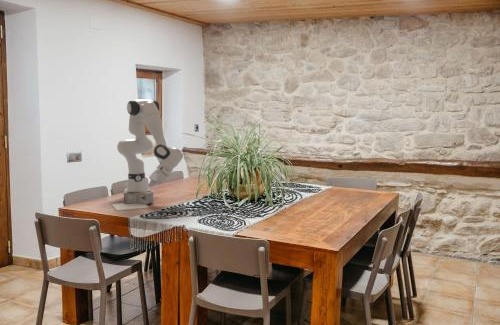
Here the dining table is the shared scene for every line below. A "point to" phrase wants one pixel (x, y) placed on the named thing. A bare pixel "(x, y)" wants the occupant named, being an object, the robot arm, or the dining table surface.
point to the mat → (128, 206)
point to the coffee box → (138, 197)
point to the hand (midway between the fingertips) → (148, 186)
